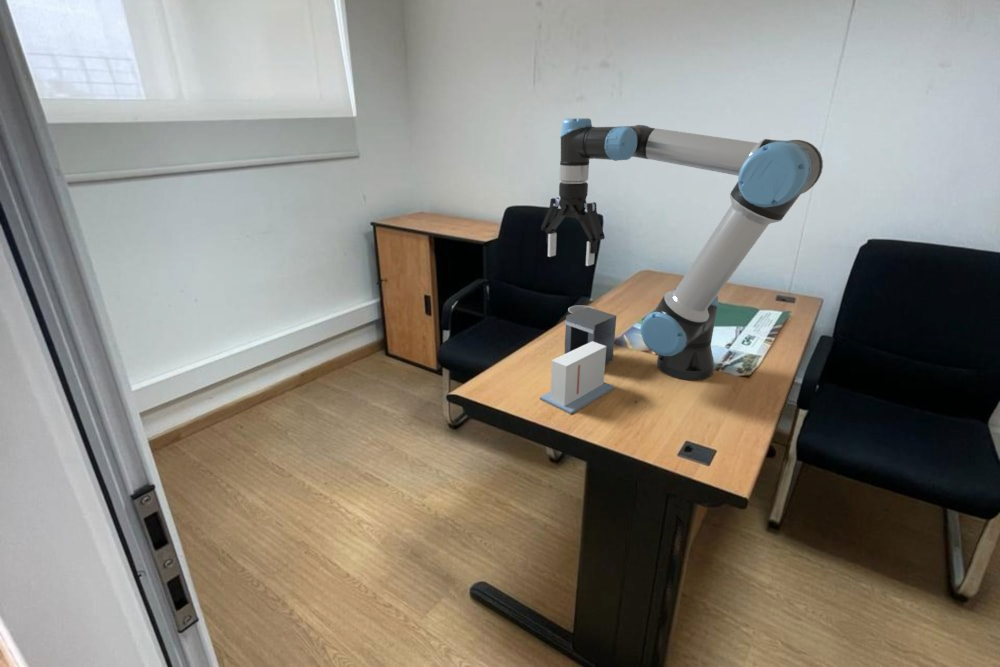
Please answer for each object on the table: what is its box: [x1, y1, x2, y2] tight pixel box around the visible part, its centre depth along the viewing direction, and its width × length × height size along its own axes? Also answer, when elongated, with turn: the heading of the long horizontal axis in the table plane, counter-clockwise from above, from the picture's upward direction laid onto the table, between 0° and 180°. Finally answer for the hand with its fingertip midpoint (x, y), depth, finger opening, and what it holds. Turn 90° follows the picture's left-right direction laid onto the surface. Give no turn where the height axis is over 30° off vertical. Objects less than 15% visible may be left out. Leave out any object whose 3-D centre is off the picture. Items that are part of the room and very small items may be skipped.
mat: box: [539, 381, 615, 415], centre depth 130 cm, size 10×18×1 cm, turn 133°
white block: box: [550, 341, 606, 406], centre depth 128 cm, size 4×16×11 cm, turn 133°
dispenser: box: [564, 307, 617, 365], centre depth 145 cm, size 10×10×14 cm
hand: (570, 260), depth 142 cm, fingers open, 13 cm apart
